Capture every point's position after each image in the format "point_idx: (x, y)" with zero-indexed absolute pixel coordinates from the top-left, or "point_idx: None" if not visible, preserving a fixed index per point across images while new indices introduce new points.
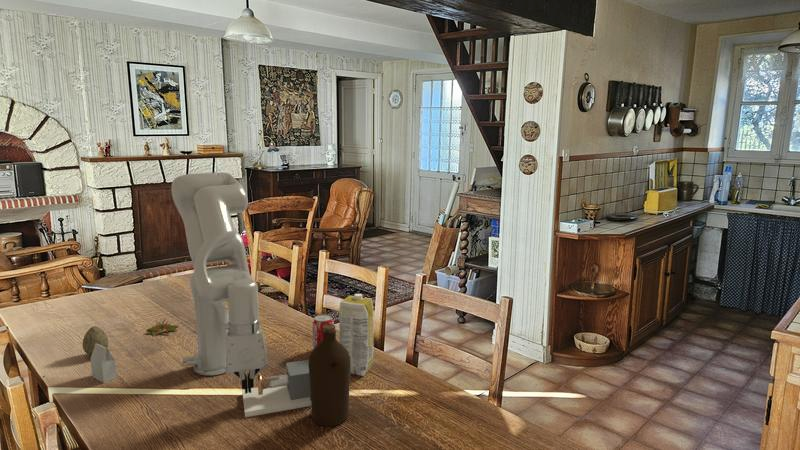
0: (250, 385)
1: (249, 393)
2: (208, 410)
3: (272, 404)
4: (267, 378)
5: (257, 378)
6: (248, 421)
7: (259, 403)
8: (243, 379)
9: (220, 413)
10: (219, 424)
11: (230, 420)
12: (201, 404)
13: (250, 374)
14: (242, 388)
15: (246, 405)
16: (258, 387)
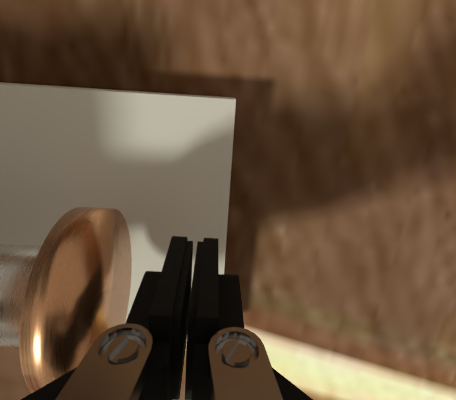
0: (165, 269)
1: None
2: (397, 240)
3: (47, 126)
4: None
5: (90, 344)
6: (220, 39)
7: (135, 170)
8: (228, 330)
9: (352, 192)
10: (385, 77)
11: (319, 97)
12: (411, 300)
13: (131, 375)
14: (235, 277)
15: (216, 177)
16: (100, 242)
